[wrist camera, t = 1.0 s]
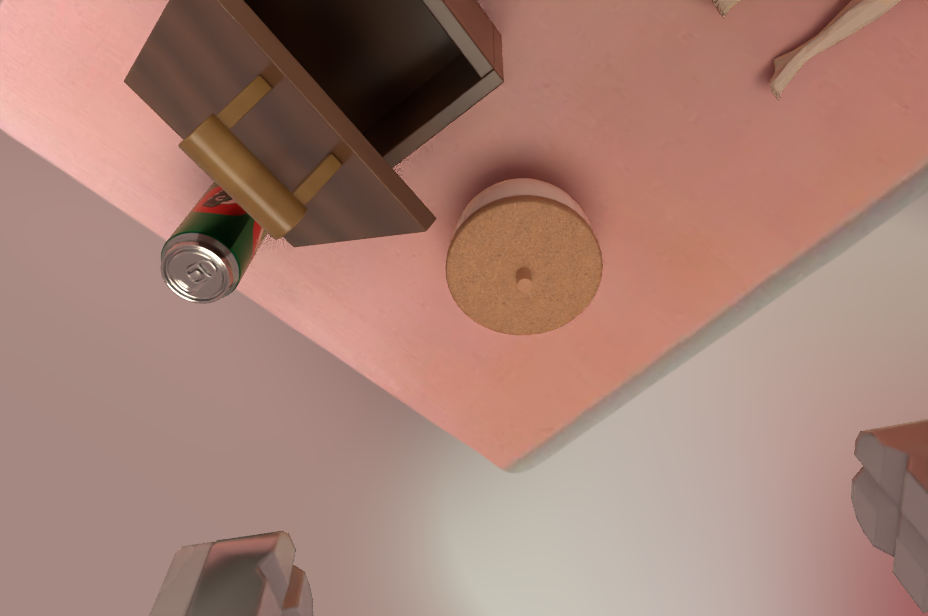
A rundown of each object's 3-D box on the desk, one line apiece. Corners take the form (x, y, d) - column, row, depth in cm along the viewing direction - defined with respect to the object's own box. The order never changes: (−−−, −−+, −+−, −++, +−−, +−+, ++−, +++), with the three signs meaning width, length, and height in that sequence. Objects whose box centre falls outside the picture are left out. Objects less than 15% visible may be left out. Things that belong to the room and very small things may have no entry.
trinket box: (422, 230, 56) (412, 295, 48) (511, 126, 51) (515, 179, 44) (526, 303, 60) (532, 374, 52) (618, 212, 55) (640, 275, 47)
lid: (203, -46, 25) (95, 43, 23) (437, 218, 30) (363, 306, 29) (134, 72, 39) (63, 133, 37) (302, 238, 44) (247, 298, 43)
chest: (372, -143, 43) (341, -137, 33) (501, 35, 48) (504, 82, 39) (199, 29, 48) (132, 74, 39) (331, 171, 54) (299, 239, 45)
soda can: (201, 184, 55) (136, 262, 44) (252, 151, 53) (197, 225, 43) (245, 235, 57) (193, 320, 47) (295, 205, 55) (252, 287, 45)
